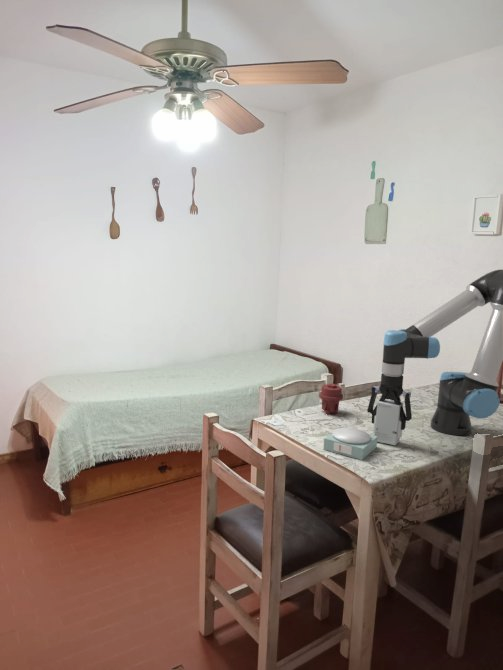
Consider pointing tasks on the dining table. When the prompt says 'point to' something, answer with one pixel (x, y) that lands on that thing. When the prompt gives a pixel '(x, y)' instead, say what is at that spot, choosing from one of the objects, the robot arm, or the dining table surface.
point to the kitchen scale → (350, 442)
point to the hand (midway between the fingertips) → (387, 434)
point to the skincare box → (387, 422)
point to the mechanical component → (330, 398)
